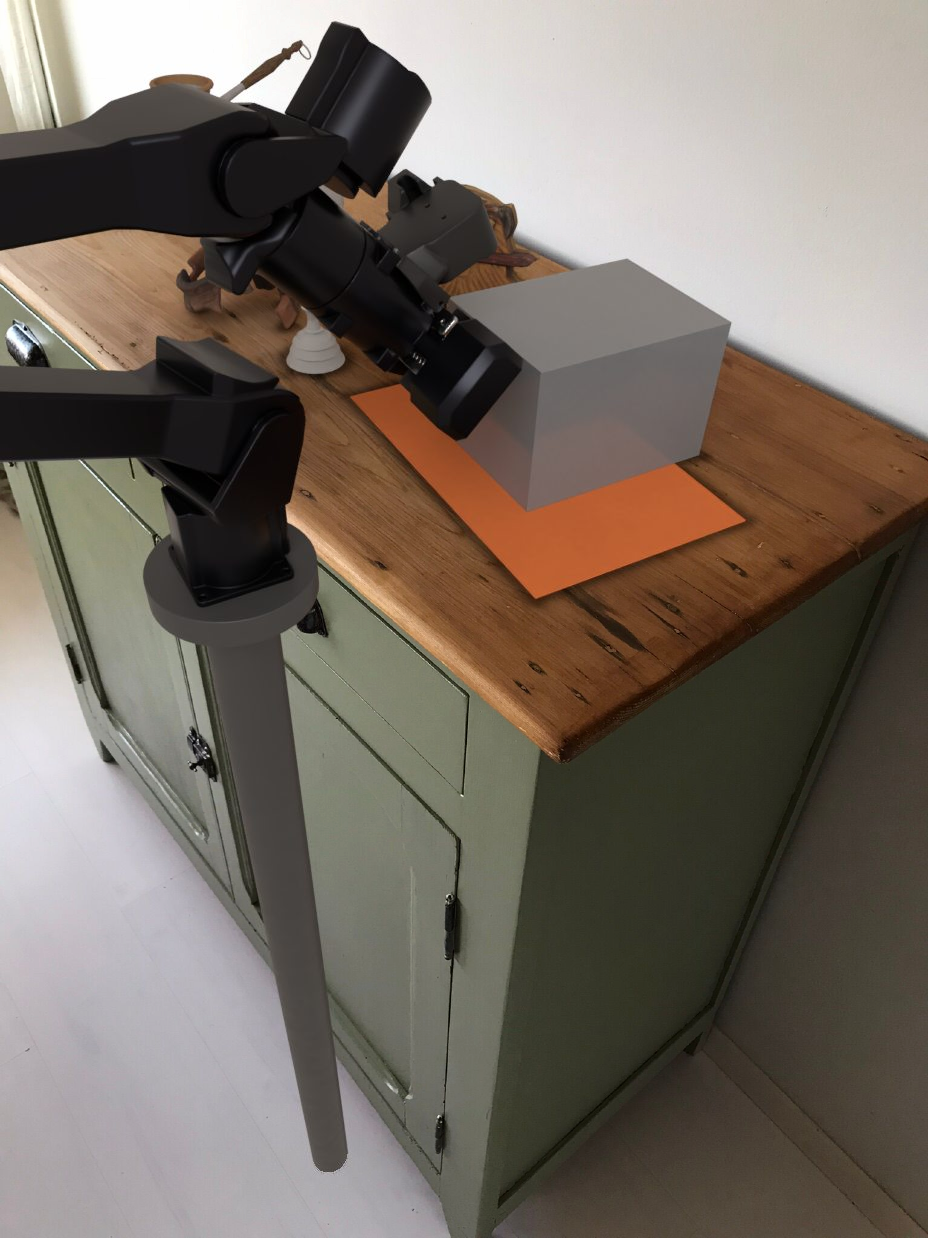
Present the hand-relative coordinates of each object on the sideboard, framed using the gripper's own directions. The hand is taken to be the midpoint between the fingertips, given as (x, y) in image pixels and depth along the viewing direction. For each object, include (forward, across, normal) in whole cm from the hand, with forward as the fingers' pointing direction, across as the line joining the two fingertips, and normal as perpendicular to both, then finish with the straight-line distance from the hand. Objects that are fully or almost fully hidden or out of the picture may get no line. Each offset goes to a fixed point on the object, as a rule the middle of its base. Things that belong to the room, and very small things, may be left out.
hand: (483, 389), depth 67 cm
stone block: (+11, 0, -1) cm, 11 cm away
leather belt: (+1, +32, +9) cm, 33 cm away
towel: (+8, 0, +1) cm, 8 cm away
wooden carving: (+14, +27, -4) cm, 31 cm away
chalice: (+2, +21, +8) cm, 22 cm away
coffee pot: (+7, +59, +3) cm, 59 cm away
